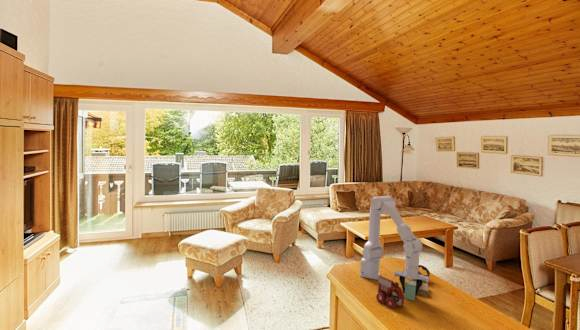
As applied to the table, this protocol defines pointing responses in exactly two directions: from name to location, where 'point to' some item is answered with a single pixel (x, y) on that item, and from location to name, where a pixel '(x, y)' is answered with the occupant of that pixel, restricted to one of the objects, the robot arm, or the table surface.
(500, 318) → the table surface
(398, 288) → the toy fire truck
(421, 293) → the pale grey flat block
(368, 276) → the robot arm
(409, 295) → the teal block
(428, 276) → the dark headphones
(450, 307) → the table surface
